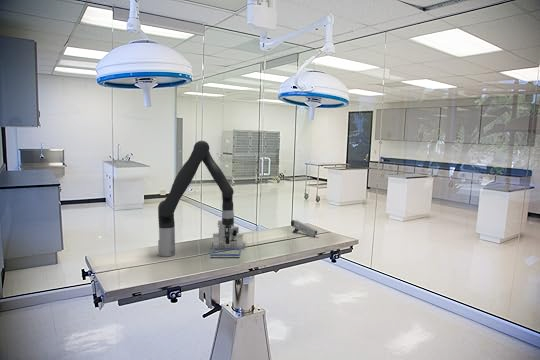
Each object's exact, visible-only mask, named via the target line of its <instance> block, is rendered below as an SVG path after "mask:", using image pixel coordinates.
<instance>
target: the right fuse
mask: <svg viewBox="0 0 540 360" xmlns="http://www.w3.org/2000/svg"><path fill="white" fill-rule="evenodd" d="M243 237H244V235H243V232H239V233H237V238H236V245H237V248H243V241H244V239H243Z"/></svg>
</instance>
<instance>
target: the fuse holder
mask: <svg viewBox="0 0 540 360" xmlns="http://www.w3.org/2000/svg"><path fill="white" fill-rule="evenodd" d="M219 244H220V247H219V248H225V241H220V240H219ZM231 248H237V240H236V241H234V240H232V241H231ZM245 249H246V241H244V240H243V248H241V250H245ZM209 250H213V240H212V241H210V248H209Z"/></svg>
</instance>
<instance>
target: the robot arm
mask: <svg viewBox="0 0 540 360" xmlns="http://www.w3.org/2000/svg"><path fill="white" fill-rule="evenodd" d="M202 162H203V164H204V165H205V167H206V168H207V171H208V172H209V174H210V176H211V177H212V178H213V181H214V182H215V183H216V185H217V186H218V188H219V190H220V192H221V200H222V203H221V206H222V208H221V210H222V212H221V220H222V224H223V225H226V227H225V238H226V244H229V238H230V237H229V235H230V233H231V225H233V224H234V225H235V212H234V201H233V198H234V197H233V195H234V192H235V191H234V189H233V187H232V185H231V184H230V183H229V181H228V179H227V177H226V176H225V174H224V172H223V171H222V169H221V168H220V166H219V165H218V164H217V162H216V161H215V159H214V158H213V156H212V154H211V152H210V145H209V143H208V142H207V141H205V140H199V141H196V142H195V144H194V145H193V149H192V152H191V154H190V156H189V158H188V159H187V160H186V162H185V163H184V164H183V165H182V167H181V168H180V169H179V171H178V173H177V175H176V176H175V178H174V179H173V180H174V181H173V182H172V185H171V188H170V191H169V192H168V194H167V196H166V197H165V199H164V200H162V201H160V202H159V204H158V207H157V211H158V213H157V215H158V217H157V218H158V238H159V239H158V241H157V242H158V243H157V244H158V245H157V247H158V248H157V249H158V251H157V253H158V256H159V257H173V256H175V255H176V231H175V230H176V228H175V227H176V224H175V212H176V209H177V207H178V205H179V202H180V200H181V198H182V196H183V195H184V194H185V192H186V190H187V189H188V188H189V186H190V185H191V183H192V181H193V179H194V177H195V176H196V173H197V171H198V169H199V166H200V164H201V163H202ZM226 235H228V236H226Z"/></svg>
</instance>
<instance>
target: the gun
mask: <svg viewBox="0 0 540 360" xmlns="http://www.w3.org/2000/svg"><path fill="white" fill-rule="evenodd" d="M290 226H291V227H293V228H294V230H293V231H292V233H293V234H297V233H298V232H301V233H303V234H305V235H307V236H309V237H311V238H313V237H314V238H315V237H316V236H317V233H318V230H317V229H315V228H313V227H311V226H310V225H308V224H305V223H303V222H301V221H299V220H295V219H292V220H291V221H290Z"/></svg>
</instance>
